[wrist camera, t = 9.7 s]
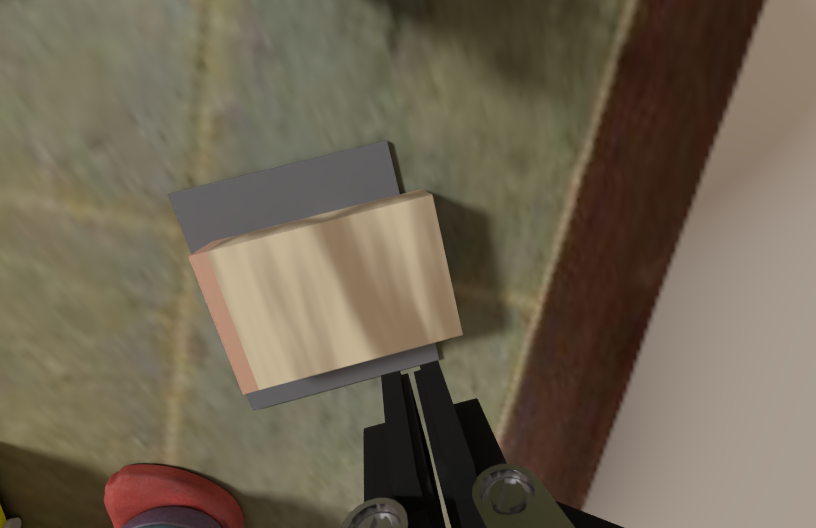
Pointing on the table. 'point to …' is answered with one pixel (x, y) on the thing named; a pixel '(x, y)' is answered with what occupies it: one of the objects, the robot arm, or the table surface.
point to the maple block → (329, 290)
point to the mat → (289, 201)
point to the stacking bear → (168, 500)
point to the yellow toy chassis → (9, 521)
